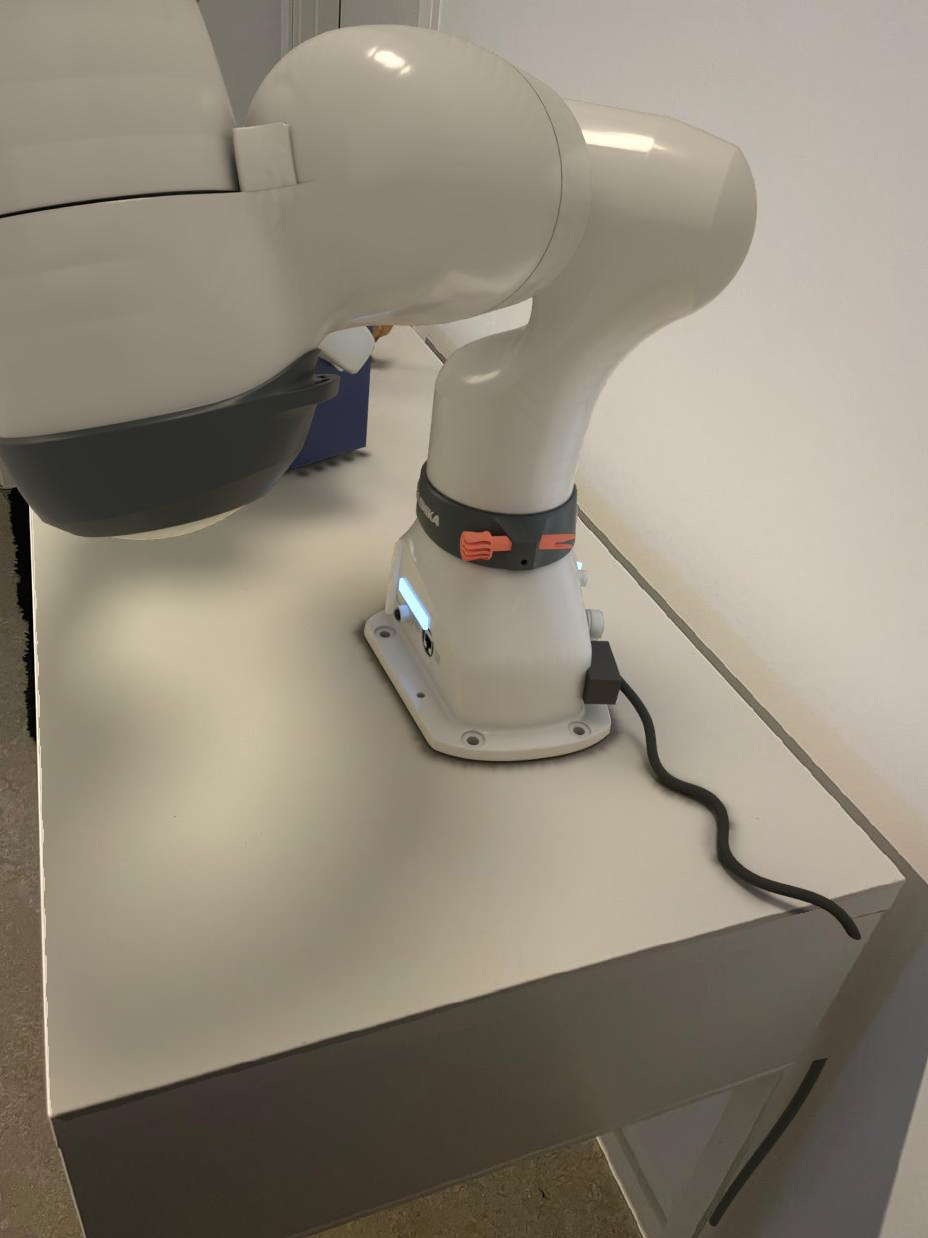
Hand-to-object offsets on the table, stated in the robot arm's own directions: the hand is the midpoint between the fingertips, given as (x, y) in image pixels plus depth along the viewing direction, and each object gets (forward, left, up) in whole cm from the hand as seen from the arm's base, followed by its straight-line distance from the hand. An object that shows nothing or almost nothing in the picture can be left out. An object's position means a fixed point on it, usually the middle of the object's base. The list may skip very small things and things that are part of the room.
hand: (329, 356), depth 91 cm
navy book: (0, +1, -10) cm, 10 cm away
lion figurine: (+31, -7, -12) cm, 33 cm away
